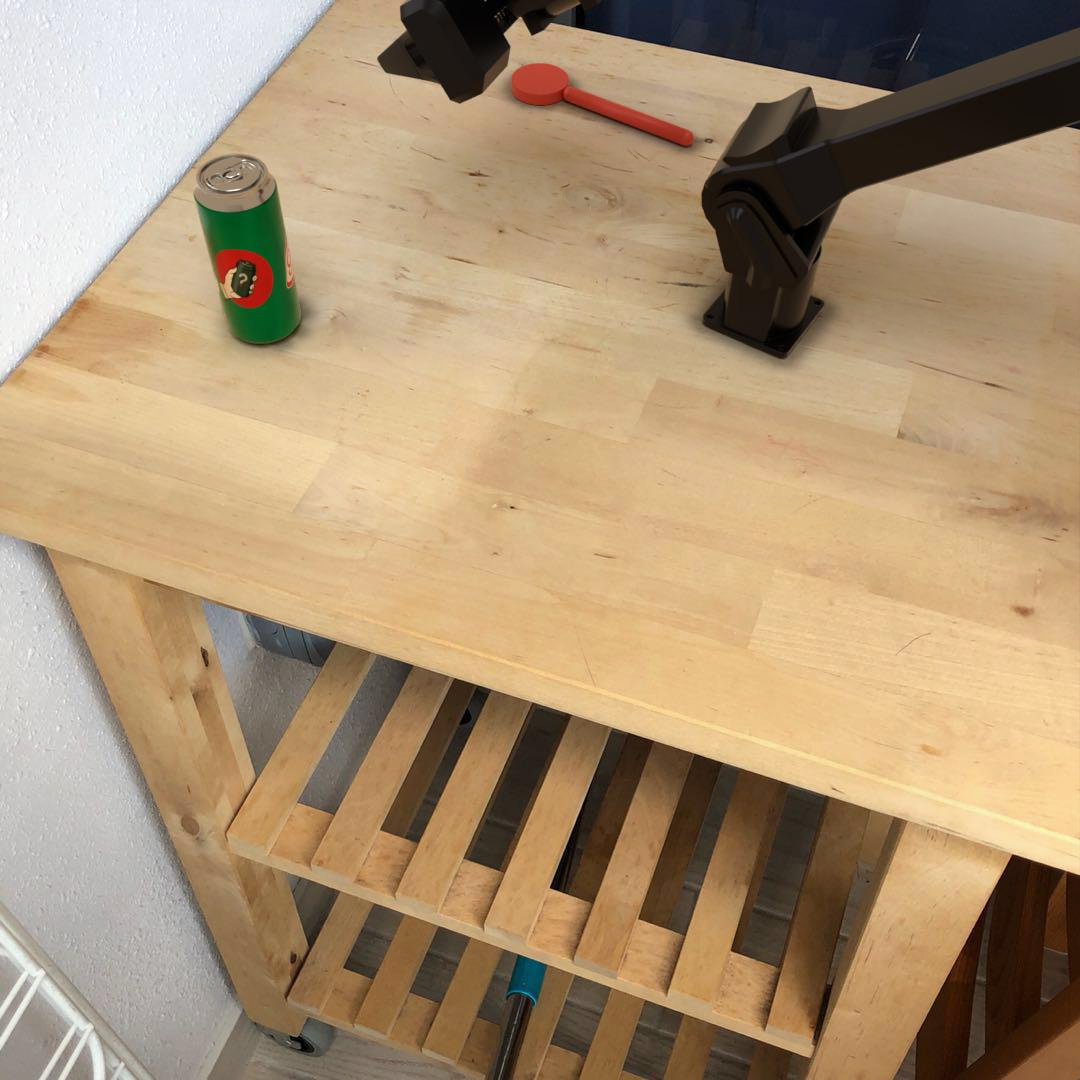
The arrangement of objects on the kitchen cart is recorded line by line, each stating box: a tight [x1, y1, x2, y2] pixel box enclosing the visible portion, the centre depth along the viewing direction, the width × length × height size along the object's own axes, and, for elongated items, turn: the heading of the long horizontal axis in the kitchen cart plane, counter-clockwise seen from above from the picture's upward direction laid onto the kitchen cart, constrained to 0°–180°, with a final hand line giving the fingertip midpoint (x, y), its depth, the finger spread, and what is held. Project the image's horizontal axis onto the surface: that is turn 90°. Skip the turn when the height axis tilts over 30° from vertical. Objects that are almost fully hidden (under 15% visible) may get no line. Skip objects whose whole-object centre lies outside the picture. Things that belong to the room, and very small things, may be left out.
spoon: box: [510, 62, 695, 147], centre depth 97 cm, size 17×5×1 cm, turn 57°
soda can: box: [192, 153, 302, 345], centre depth 77 cm, size 5×5×12 cm
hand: (417, 30), depth 78 cm, fingers open, 9 cm apart
